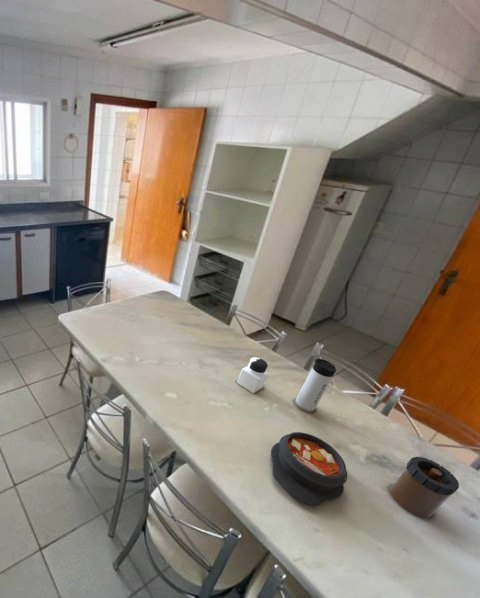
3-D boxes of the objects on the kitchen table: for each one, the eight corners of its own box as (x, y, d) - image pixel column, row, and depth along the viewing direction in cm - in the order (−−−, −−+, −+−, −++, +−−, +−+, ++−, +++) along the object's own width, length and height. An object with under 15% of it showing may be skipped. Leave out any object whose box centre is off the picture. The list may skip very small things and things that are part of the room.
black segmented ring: (438, 468, 90) (443, 462, 89) (462, 500, 82) (468, 494, 81) (399, 458, 92) (403, 452, 91) (419, 488, 84) (424, 482, 83)
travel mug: (294, 397, 126) (315, 355, 116) (314, 405, 122) (337, 362, 113) (292, 406, 121) (314, 363, 112) (313, 415, 118) (337, 372, 109)
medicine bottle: (263, 387, 129) (273, 363, 124) (253, 394, 125) (263, 369, 120) (246, 376, 134) (255, 353, 129) (236, 382, 130) (245, 358, 125)
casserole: (328, 527, 83) (343, 508, 79) (254, 474, 95) (264, 455, 91) (350, 469, 99) (363, 451, 95) (284, 430, 111) (293, 412, 107)
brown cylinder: (418, 491, 94) (445, 462, 88) (439, 522, 86) (469, 492, 80) (383, 482, 96) (407, 452, 90) (400, 511, 88) (427, 481, 82)
